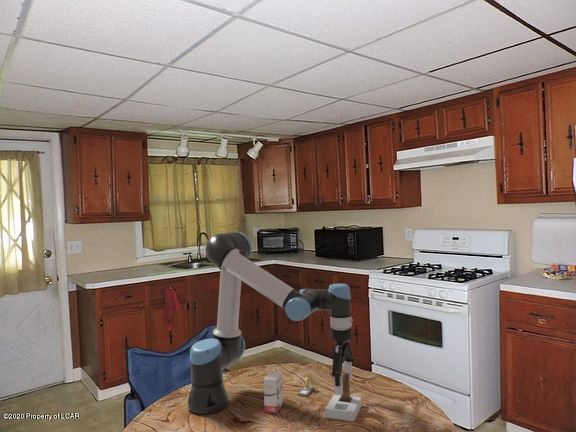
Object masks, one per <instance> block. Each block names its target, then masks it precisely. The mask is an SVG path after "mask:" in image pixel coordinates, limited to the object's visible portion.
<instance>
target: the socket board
mask: <svg viewBox="0 0 576 432" xmlns="http://www.w3.org/2000/svg"><path fill="white" fill-rule="evenodd" d="M362 406H363V405H362V396H360V397H359V396H353V395H350V403H349V402H341V395H335V393H334V394H333V395H332V397H331V399H330V400H329V401H328V403H327V405H326V407H324V418H326V419H333V420H341V421H348V422H355V421H356V418H357V416H358V414H359V412H360V410H361V407H362Z"/></svg>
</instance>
